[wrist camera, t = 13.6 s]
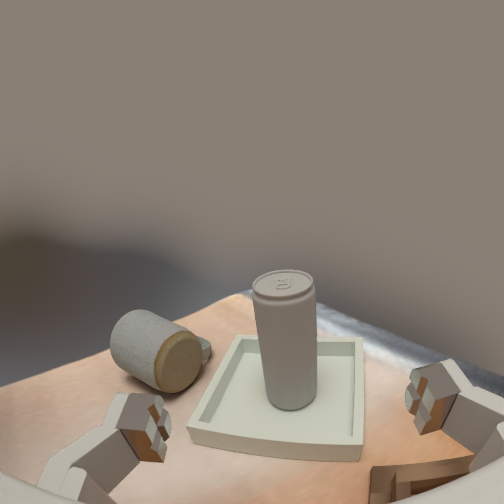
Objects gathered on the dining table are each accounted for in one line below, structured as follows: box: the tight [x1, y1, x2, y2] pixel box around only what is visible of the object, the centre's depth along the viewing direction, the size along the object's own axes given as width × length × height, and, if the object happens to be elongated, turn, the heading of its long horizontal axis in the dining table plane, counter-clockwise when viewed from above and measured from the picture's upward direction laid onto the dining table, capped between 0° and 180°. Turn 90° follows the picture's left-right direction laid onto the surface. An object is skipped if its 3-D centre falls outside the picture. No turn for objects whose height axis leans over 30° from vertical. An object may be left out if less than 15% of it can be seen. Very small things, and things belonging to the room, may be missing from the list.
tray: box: [186, 334, 364, 462], centre depth 27 cm, size 14×14×3 cm
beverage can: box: [252, 270, 317, 410], centre depth 25 cm, size 5×5×12 cm
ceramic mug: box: [110, 310, 211, 393], centre depth 32 cm, size 11×8×8 cm
